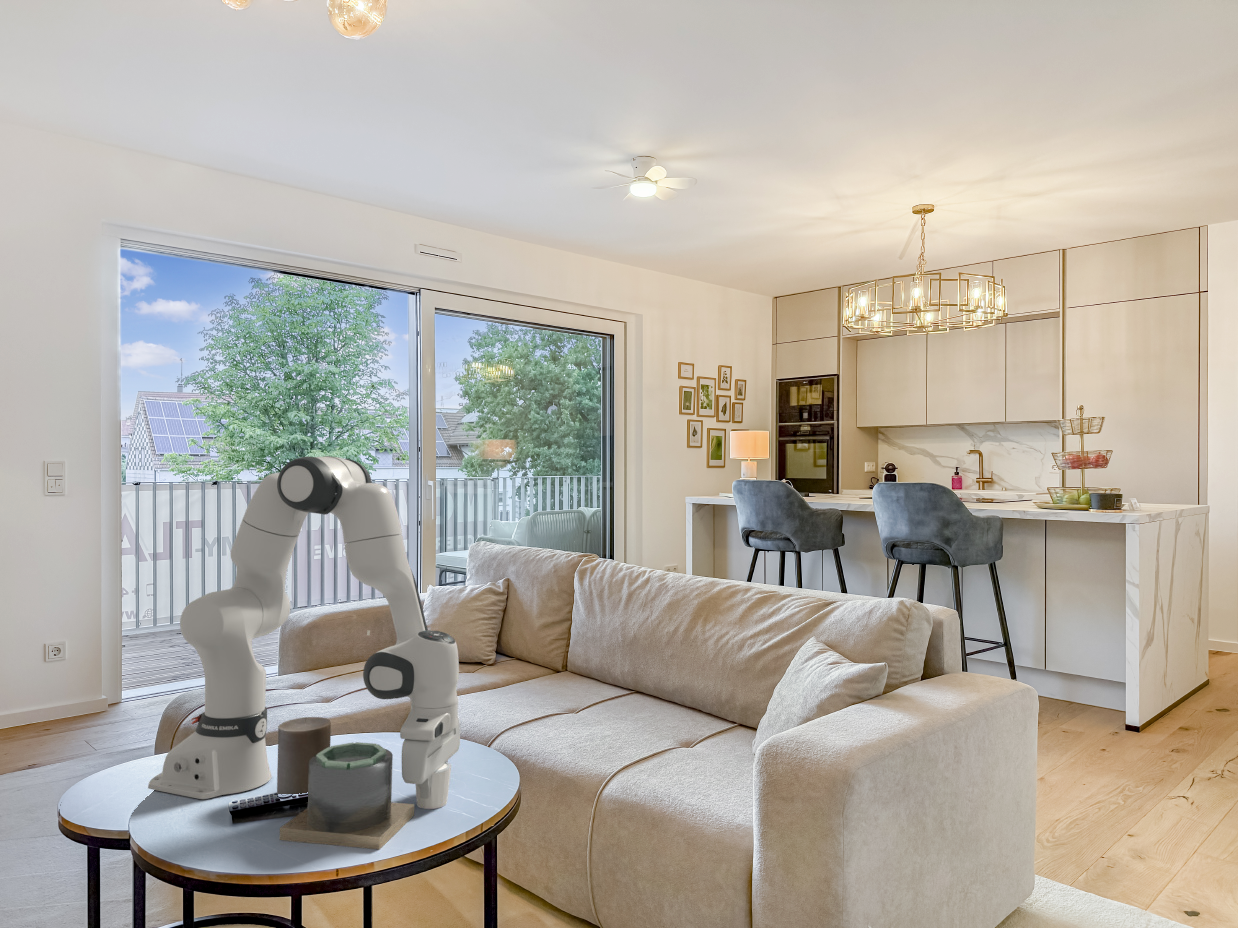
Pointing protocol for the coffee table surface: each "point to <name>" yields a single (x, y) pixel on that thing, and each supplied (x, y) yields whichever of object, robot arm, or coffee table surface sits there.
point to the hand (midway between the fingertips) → (432, 790)
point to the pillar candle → (299, 751)
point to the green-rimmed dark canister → (349, 799)
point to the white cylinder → (436, 789)
